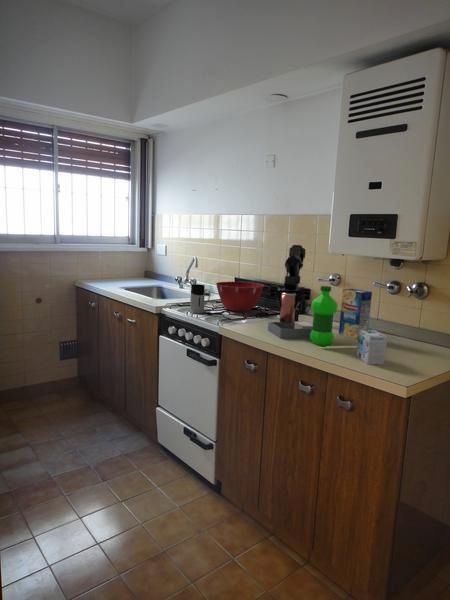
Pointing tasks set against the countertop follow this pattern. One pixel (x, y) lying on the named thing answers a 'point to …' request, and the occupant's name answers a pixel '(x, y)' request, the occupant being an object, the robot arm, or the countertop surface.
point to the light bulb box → (371, 347)
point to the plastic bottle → (323, 317)
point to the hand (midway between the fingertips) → (287, 307)
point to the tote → (288, 330)
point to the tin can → (287, 307)
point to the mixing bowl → (239, 295)
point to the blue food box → (354, 312)
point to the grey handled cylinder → (197, 298)
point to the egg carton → (303, 325)
